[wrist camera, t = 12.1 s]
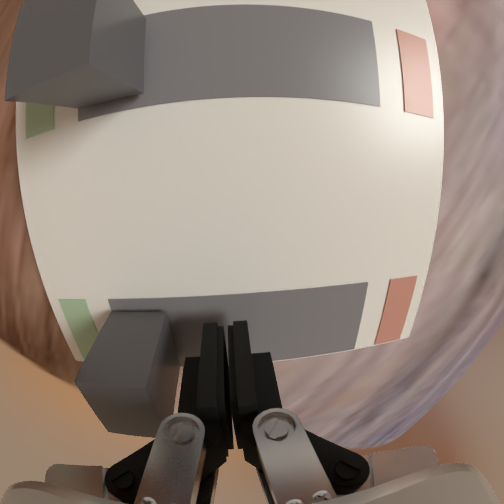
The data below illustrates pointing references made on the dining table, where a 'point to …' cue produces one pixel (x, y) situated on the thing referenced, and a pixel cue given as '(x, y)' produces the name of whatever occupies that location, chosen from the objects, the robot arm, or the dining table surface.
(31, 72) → the middle breaker
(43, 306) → the dining table surface
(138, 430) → the block
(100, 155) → the breaker panel
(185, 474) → the robot arm
